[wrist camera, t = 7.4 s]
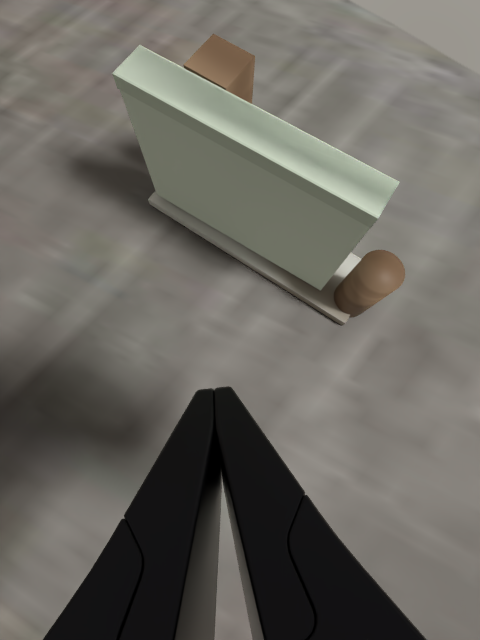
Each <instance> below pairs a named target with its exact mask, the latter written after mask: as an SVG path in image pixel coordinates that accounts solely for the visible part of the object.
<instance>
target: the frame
mask: <svg viewBox="0 0 480 640" xmlns="http://www.w3.org/2000/svg"><path fill="white" fill-rule="evenodd" d="M254 64H255V56H254V55H252V54H250V53H248V52H246V51H245V50H243V49H241V48H239V47H237V46H235V45H233V44H232V43H230V42H228V41H226V40H224V39H222V38H220V37H218V36H217V35H215V34H213V35H212V36H211V37H210V38H209V39H208V40H207V41H206V42H205V43H204V44H203V45H202V46H201V47H200V48H199V49H198V50H197V51H196V52H195V53H194V54H193V55H192V57H191V58H190V59H189V60H188V61H187V62H186V63H185V64H184V69H186V70H188V71H190V72H192V73H194V74H196V75H198V76H200V77H201V78H203V79H205V80H207V81H209V82H211V83H213V84H215V85H217V86H218V87H220V88H222V89H224V90H226V91H228V92H230V93H232V94H234V95H236V96H237V97H239V98H241V99H243V100H245V101H247V102H249V103H251V104H252V93H253V78H254ZM148 201H149V203H150V205H152V206H153V207H155V208H157V209H158V210H160V211H161V212H163V213H165V214H166V215H168V216H169V217H171V218H172V219H174V220H176V221H177V222H179V223H180V224H182V225H184V226H185V227H187V228H188V229H190V230H191V231H193V232H195V233H196V234H198V235H199V236H201V237H203V238H204V239H206V240H207V241H209V242H210V243H212V244H214V245H215V246H217V247H218V248H220V249H222V250H223V251H225V252H226V253H228V254H229V255H231V256H233V257H234V258H236V259H237V260H239V261H241V262H242V263H244V264H245V265H247V266H248V267H250V268H252V269H253V270H255V271H256V272H258V273H260V274H261V275H263V276H264V277H266V278H267V279H269V280H271V281H272V282H274V283H275V284H277V285H279V286H280V287H282V288H283V289H285V290H286V291H288V292H290V293H291V294H293V295H294V296H296V297H298V298H299V299H301V300H302V301H304V302H305V303H307V304H309V305H310V306H312V307H313V308H315V309H317V310H318V311H320V312H321V313H323V314H324V315H326V316H328V317H329V318H331V319H332V320H334V321H336V322H337V323H339V324H340V325H344V324H345V323H346V321H347V320H348V318H349V317H356V316H358V315H360V314H361V313H363V312H364V311H366V310H367V309H369V308H370V307H371V306H373V305H374V304H376V303H377V302H379V301H380V300H382V299H383V298H384V297H386V296H387V295H389V294H390V293H392V292H393V291H395V290H396V289H397V288H399V287H400V286H401V284H402V283H403V281H404V278H405V269H404V266H403V264H402V262H401V261H400V259H399V258H398V257H397V256H395V255H394V254H392V253H391V252H388V251H385V250H375V251H371V252H369V253H368V254H366V255H365V256H364V257H363V258H362V259H361V258H359V257H357V256H356V255H354V254H352V253H350V254H349V255H348V257H347V258H346V259H345V260H344V262H343V263H342V264H341V265H340V267H339V268H338V269H337V271H336V272H335V273H334V274H333V276H332V277H331V278H330V279H329V281H328V282H327V283H326V284H325V286H324V287H323V288H322V289H321V291H320V290H319V289H317V288H315V287H313V286H312V285H310V284H308V283H307V282H305V281H303V280H302V279H300V278H298V277H296V276H295V275H293V274H291V273H290V272H288V271H286V270H285V269H283V268H281V267H279V266H278V265H276V264H274V263H273V262H271V261H269V260H268V259H266V258H264V257H262V256H261V255H259V254H257V253H256V252H254V251H252V250H251V249H249V248H247V247H245V246H244V245H242V244H240V243H239V242H237V241H235V240H234V239H232V238H230V237H228V236H227V235H225V234H223V233H222V232H220V231H218V230H217V229H215V228H213V227H211V226H210V225H208V224H206V223H205V222H203V221H201V220H200V219H198V218H196V217H194V216H193V215H191V214H189V213H188V212H186V211H184V210H183V209H181V208H179V207H177V206H176V205H174V204H172V203H171V202H169V201H167V200H166V199H164V198H162V197H160V196H159V195H157V193H156V190H155V192H154V193H153V194H152V195H151V196H150V197H149V199H148Z"/></svg>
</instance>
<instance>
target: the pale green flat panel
mask: <svg viewBox="0 0 480 640" xmlns="http://www.w3.org/2000/svg"><path fill="white" fill-rule="evenodd" d="M112 74H113V77H114V80H115V83H116V86H117V88H118V89H119V90H120V92H121V94H122V97H123V100H124V103H125V106H126V108H127V111H128V114H129V117H130V120H131V123H132V125H133V128H134V131H135V134H136V137H137V140H138V142H139V145H140V148H141V151H142V154H143V156H144V159H145V162H146V165H147V168H148V171H149V173H150V176H151V179H152V182H153V185H154V188H155V190H156V193H157V195H159V196H160V197H162V198H164V199H166V200H167V201H169V202H171V203H172V204H174V205H176V206H177V207H179V208H181V209H183V210H184V211H186V212H188V213H189V214H191V215H193V216H194V217H196V218H198V219H200V220H201V221H203V222H205V223H206V224H208V225H210V226H211V227H213V228H215V229H217V230H218V231H220V232H222V233H223V234H225V235H227V236H228V237H230V238H232V239H234V240H235V241H237V242H239V243H240V244H242V245H244V246H245V247H247V248H249V249H251V250H252V251H254V252H256V253H257V254H259V255H261V256H262V257H264V258H266V259H268V260H269V261H271V262H273V263H274V264H276V265H278V266H279V267H281V268H283V269H285V270H286V271H288V272H290V273H291V274H293V275H295V276H296V277H298V278H300V279H302V280H303V281H305V282H307V283H308V284H310V285H312V286H313V287H315V288H317V289H319V290H320V291H321V289H322V288H323V287H324V286H325V284H326V283H327V282H328V281H329V279H330V278H331V277H332V276H333V274H334V273H335V272H336V271H337V269H338V268H339V267H340V265H341V264H342V263H343V262H344V260H345V259H346V258H347V257H348V255H349V254H350V253H351V252H352V250H353V249H354V248H355V247H356V245H357V244H358V243H359V242H360V240H361V239H362V238H363V236H364V235H365V234H366V233H367V231H368V230H369V229H370V228H371V227H372V226H373V224H374V223H375V222H376V221H377V219H378V218H379V216H380V214H381V213H382V211H383V209H384V208H385V206H386V204H387V203H388V201H389V199H390V197H391V196H392V194H393V192H394V191H395V189H396V187H397V186H398V184H399V181H397V180H395V179H393V178H391V177H389V176H387V175H385V174H383V173H381V172H380V171H378V170H376V169H374V168H372V167H370V166H368V165H366V164H364V163H363V162H361V161H359V160H357V159H355V158H353V157H351V156H349V155H347V154H345V153H344V152H342V151H340V150H338V149H336V148H334V147H332V146H330V145H328V144H327V143H325V142H323V141H321V140H319V139H317V138H315V137H313V136H311V135H309V134H308V133H306V132H304V131H302V130H300V129H298V128H296V127H294V126H292V125H291V124H289V123H287V122H285V121H283V120H281V119H279V118H277V117H275V116H273V115H272V114H270V113H268V112H266V111H264V110H262V109H260V108H258V107H256V106H255V105H253V104H251V103H249V102H247V101H245V100H243V99H241V98H239V97H237V96H236V95H234V94H232V93H230V92H228V91H226V90H224V89H222V88H220V87H218V86H217V85H215V84H213V83H211V82H209V81H207V80H205V79H203V78H201V77H200V76H198V75H196V74H194V73H192V72H190V71H188V70H186V69H184V68H182V67H181V66H179V65H177V64H175V63H173V62H171V61H169V60H167V59H165V58H164V57H162V56H160V55H158V54H156V53H154V52H152V51H150V50H148V49H146V48H145V47H143V46H141V45H139V46H138V47H137V48H136V49H135V51H134V52H133V53H132V54H131V55H130V56H129V57H128V58H127V59H126V60H125V61H124V62H123V63H122V64H121V65H120V66H119V67H118V68H117V69H116V70H115V71H114V72H113V73H112Z"/></svg>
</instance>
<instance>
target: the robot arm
mask: <svg viewBox="0 0 480 640" xmlns="http://www.w3.org/2000/svg"><path fill="white" fill-rule="evenodd" d="M221 472H222V473H221ZM222 479H223V486H224V492H225V497H226V502H227V507H228V513H229V518H230V523H231V528H232V533H233V539H234V544H235V549H236V554H237V560H238V565H239V570H240V575H241V581H242V586H243V591H244V596H245V602H246V607H247V612H248V617H249V622H250V628H251V633H252V638H253V640H426V638H425V637H424V636H423V635H422V634H421V633H420V632H419V630H418V629H417V628H416V627H415V626H414V625H413V624H412V622H411V621H410V620H409V619H408V618H407V617H406V616H405V614H404V613H403V612H402V611H401V610H400V609H399V608H398V606H397V605H396V604H395V603H394V602H393V601H392V600H391V598H390V597H389V596H388V595H387V594H386V593H385V592H384V590H383V589H382V588H381V587H380V586H379V585H378V584H377V582H376V581H375V580H374V579H373V578H372V577H371V576H370V574H369V573H368V572H367V571H366V570H365V569H364V568H363V566H362V565H361V564H360V563H359V562H358V561H357V559H356V558H355V557H354V556H353V555H352V553H351V552H350V551H349V550H348V549H347V547H346V546H345V545H344V544H343V543H342V541H341V540H340V539H339V538H338V536H337V535H336V534H335V532H334V531H333V530H332V528H331V527H330V526H329V524H328V523H327V522H326V520H325V519H324V518H323V516H322V515H321V514H320V512H319V511H318V510H317V508H316V507H315V505H314V504H313V502H312V501H311V500H310V498H309V497H308V496H307V495H305V491H304V490H303V489H302V487H301V486H300V484H299V483H298V481H297V480H296V479H295V477H294V476H293V474H292V473H291V471H290V470H289V469H288V467H287V466H286V464H285V463H284V461H283V460H282V459H281V457H280V456H279V454H278V453H277V451H276V450H275V449H274V447H273V446H272V444H271V443H270V442H269V440H268V439H267V437H266V436H265V434H264V433H263V432H262V430H261V429H260V427H259V426H258V424H257V423H256V422H255V420H254V419H253V417H252V416H251V414H250V413H249V412H248V410H247V409H246V407H245V406H244V404H243V403H242V402H241V400H240V399H239V397H238V396H237V394H236V393H235V392H234V390H233V389H232V388H231V387H219V388H216V389H215V390H213V389H212V388H210V389H201V390H198V391H197V392H196V393H195V395H194V396H193V398H192V400H191V402H190V403H189V405H188V407H187V408H186V410H185V412H184V414H183V415H182V417H181V419H180V420H179V422H178V424H177V426H176V427H175V429H174V431H173V432H172V434H171V436H170V437H169V439H168V441H167V443H166V444H165V446H164V448H163V449H162V451H161V453H160V455H159V456H158V458H157V460H156V461H155V463H154V465H153V467H152V468H151V470H150V472H149V473H148V475H147V477H146V479H145V480H144V482H143V484H142V485H141V487H140V489H139V491H138V492H137V494H136V496H135V497H134V499H133V501H132V503H131V504H130V506H129V508H128V509H127V511H126V513H125V515H124V518H125V519H122V520H121V521H120V523H119V524H118V526H117V528H116V530H115V531H114V533H113V535H112V536H111V538H110V540H109V542H108V543H107V545H106V546H105V548H104V550H103V551H102V553H101V554H100V556H99V558H98V559H97V561H96V563H95V564H94V566H93V567H92V569H91V571H90V572H89V574H88V575H87V577H86V578H85V579H84V581H83V582H82V584H81V585H80V587H79V588H78V590H77V591H76V593H75V594H74V596H73V597H72V599H71V600H70V602H69V603H68V604H67V606H66V607H65V609H64V610H63V612H62V613H61V614H60V616H59V617H58V619H57V620H56V622H55V623H54V624H53V626H52V627H51V629H50V630H49V631H48V633H47V634H46V636H45V637H44V639H43V640H214V634H215V614H216V593H217V573H218V553H219V532H220V512H221V492H222Z"/></svg>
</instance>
